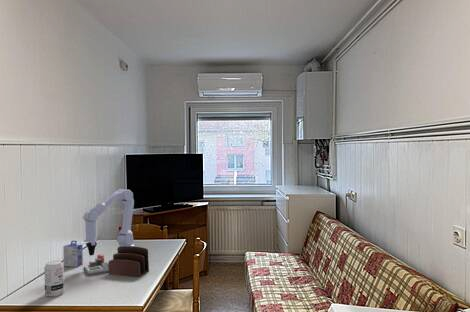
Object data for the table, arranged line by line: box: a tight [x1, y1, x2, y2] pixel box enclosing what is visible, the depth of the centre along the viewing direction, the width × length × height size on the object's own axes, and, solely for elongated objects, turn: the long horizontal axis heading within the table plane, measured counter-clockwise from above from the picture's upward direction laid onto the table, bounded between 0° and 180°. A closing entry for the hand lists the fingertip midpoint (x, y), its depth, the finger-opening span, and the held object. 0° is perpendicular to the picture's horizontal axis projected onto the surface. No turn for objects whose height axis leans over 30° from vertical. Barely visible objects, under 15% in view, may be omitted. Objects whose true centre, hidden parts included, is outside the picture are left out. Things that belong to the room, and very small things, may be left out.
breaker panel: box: [83, 262, 109, 277], centre depth 224 cm, size 13×17×2 cm
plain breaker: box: [94, 258, 102, 265], centre depth 230 cm, size 3×4×3 cm
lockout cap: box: [96, 254, 105, 263], centre depth 238 cm, size 4×4×5 cm
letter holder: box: [107, 246, 150, 278], centre depth 218 cm, size 10×20×14 cm, turn 73°
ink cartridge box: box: [62, 240, 84, 268], centre depth 234 cm, size 10×6×14 cm, turn 78°
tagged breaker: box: [88, 260, 96, 267], centre depth 225 cm, size 3×4×3 cm
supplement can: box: [43, 260, 65, 297], centre depth 186 cm, size 8×8×15 cm
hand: (91, 255), depth 228 cm, fingers closed
